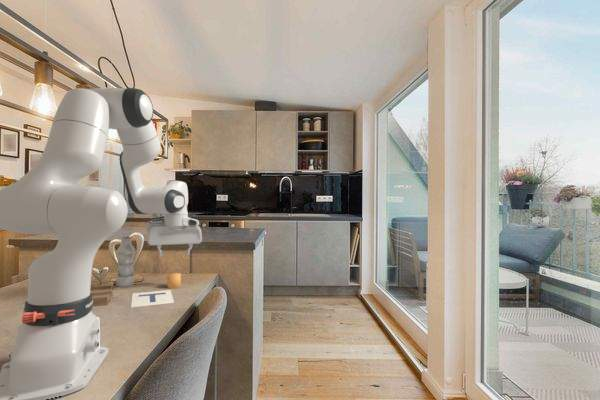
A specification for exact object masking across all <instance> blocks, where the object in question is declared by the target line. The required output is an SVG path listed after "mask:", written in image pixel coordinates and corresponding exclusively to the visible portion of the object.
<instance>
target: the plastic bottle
mask: <svg viewBox="0 0 600 400" xmlns="http://www.w3.org/2000/svg"><path fill="white" fill-rule="evenodd" d="M120 242H121V244H120V245H119V246H118V248H117V250H116V257H117V264H118V265H117V267H118V268H117V275H116V280H115V285H116V287H118V288H128V287H131V286H134V285H135V279H136V278H135V273H134V262H135V261H134V259H135V255H136V248H135V247H134V245H133V244H132V243H133V237H131V236H130V237H129V236H125V237H124V236H123V237H121V241H120Z"/></svg>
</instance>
